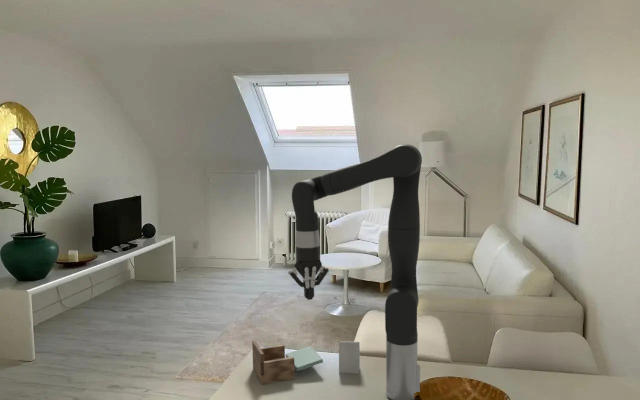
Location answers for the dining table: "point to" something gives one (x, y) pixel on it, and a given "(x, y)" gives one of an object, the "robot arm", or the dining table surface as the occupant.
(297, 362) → the panel
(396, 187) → the robot arm
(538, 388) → the dining table surface
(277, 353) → the brown wooden open box
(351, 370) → the grey wedge block
